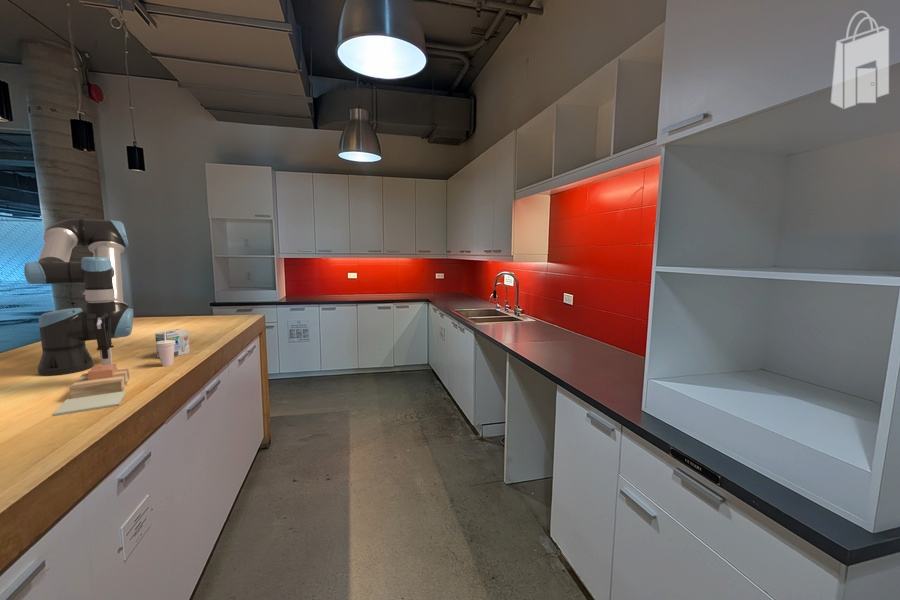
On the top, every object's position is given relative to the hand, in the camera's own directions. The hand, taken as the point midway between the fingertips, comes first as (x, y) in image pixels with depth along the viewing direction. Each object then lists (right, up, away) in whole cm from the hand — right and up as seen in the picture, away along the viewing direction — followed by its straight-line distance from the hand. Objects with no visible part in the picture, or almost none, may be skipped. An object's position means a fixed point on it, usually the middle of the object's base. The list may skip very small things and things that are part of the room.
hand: (107, 366), depth 133 cm
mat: (+13, -8, -19) cm, 24 cm away
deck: (+5, -6, -7) cm, 11 cm away
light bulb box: (-1, -1, +34) cm, 34 cm away
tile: (+4, -2, -5) cm, 7 cm away
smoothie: (+7, -3, +20) cm, 21 cm away
